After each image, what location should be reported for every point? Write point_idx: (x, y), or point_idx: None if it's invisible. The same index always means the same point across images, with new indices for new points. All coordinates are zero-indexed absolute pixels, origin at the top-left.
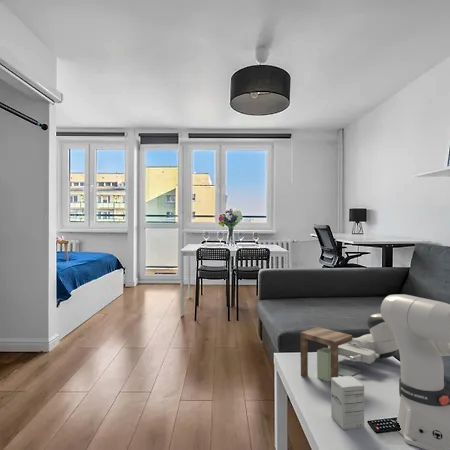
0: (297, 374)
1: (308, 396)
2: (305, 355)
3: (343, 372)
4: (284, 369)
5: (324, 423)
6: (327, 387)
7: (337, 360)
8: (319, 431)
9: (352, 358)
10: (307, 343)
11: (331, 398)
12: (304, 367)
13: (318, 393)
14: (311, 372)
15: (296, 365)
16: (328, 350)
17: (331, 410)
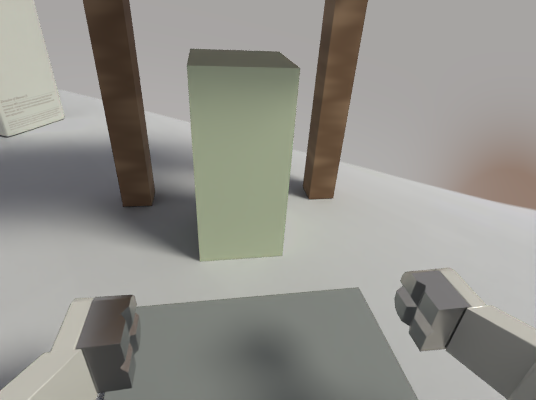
0: (342, 185)
1: (177, 136)
2: (317, 85)
3: (205, 351)
4: (414, 182)
5: (72, 107)
6: (166, 185)
7: (96, 55)
8: (71, 97)
9: (94, 302)
10: (333, 12)
11: (49, 63)
12: (308, 144)
13: (165, 153)
14: (338, 227)
15: (461, 231)
16: (224, 59)
17: (59, 98)
